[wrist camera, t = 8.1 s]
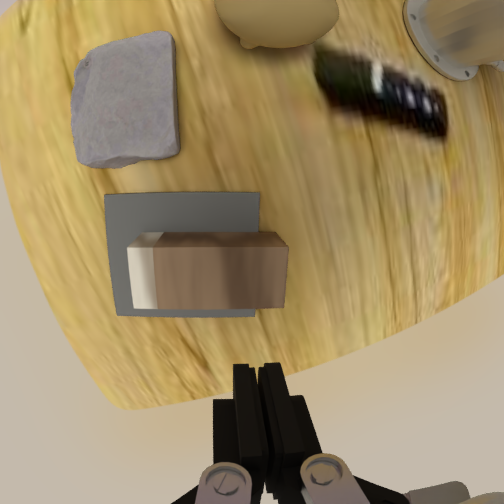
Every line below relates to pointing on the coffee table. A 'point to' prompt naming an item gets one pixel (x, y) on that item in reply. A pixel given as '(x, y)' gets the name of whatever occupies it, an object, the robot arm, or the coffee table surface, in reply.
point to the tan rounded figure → (278, 21)
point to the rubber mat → (172, 220)
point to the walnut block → (208, 270)
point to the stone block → (126, 102)
